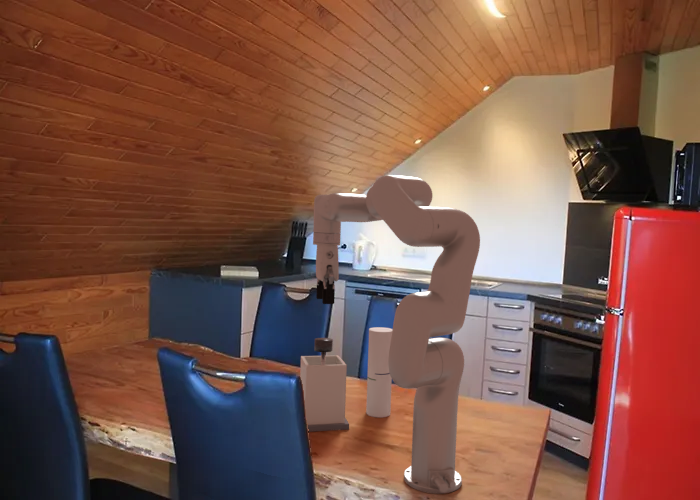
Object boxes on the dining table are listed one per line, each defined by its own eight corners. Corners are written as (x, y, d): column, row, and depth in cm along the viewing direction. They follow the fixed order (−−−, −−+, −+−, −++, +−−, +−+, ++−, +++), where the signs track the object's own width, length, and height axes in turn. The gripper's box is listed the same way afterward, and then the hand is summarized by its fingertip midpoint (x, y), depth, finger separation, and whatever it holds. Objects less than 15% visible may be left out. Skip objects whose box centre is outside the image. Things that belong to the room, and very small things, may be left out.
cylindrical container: (388, 418, 163) (391, 332, 161) (364, 415, 164) (367, 330, 163) (391, 410, 170) (394, 328, 168) (368, 408, 171) (371, 326, 170)
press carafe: (349, 429, 153) (351, 365, 152) (301, 431, 150) (303, 367, 149) (339, 413, 166) (341, 354, 165) (295, 415, 163) (296, 355, 162)
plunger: (339, 420, 155) (342, 342, 154) (308, 421, 153) (310, 343, 152) (333, 409, 163) (335, 336, 162) (304, 411, 161) (306, 336, 160)
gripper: (346, 241, 148) (344, 306, 149) (334, 238, 165) (332, 297, 165) (318, 240, 146) (316, 306, 147) (308, 238, 163) (307, 297, 164)
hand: (325, 301), depth 156 cm, fingers open, 9 cm apart
